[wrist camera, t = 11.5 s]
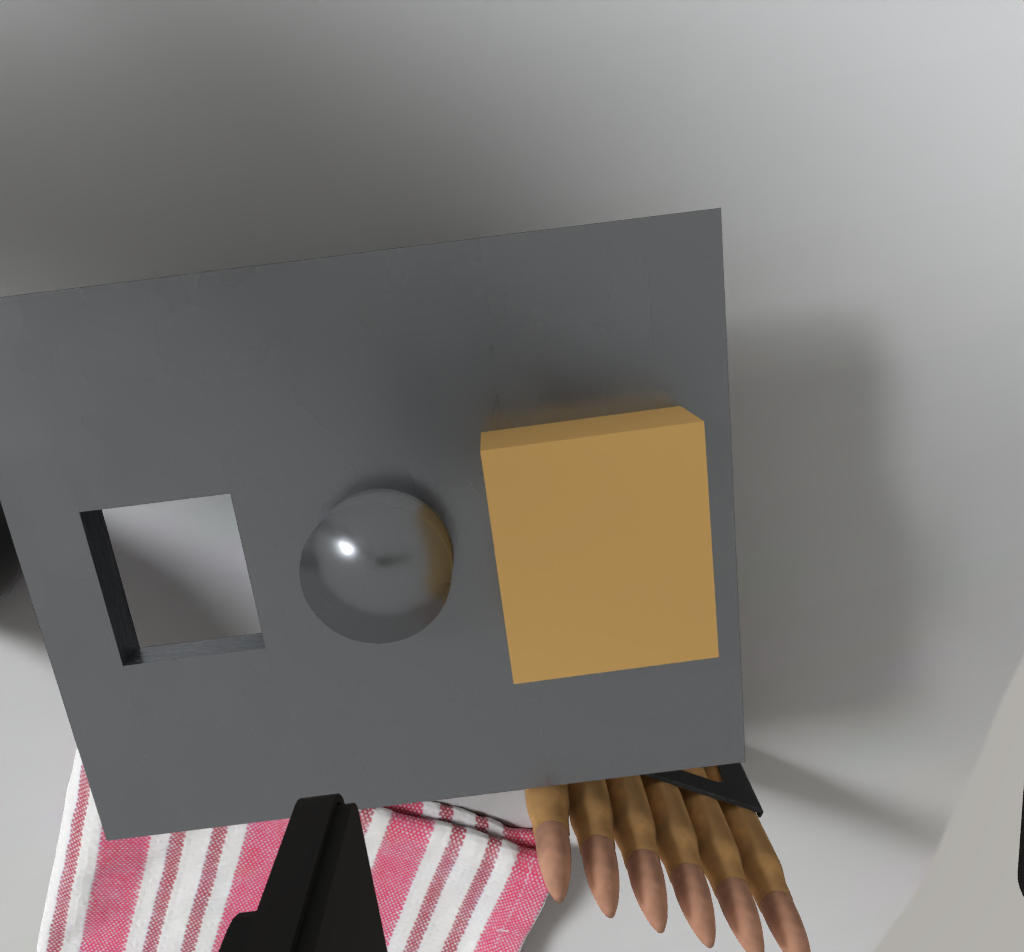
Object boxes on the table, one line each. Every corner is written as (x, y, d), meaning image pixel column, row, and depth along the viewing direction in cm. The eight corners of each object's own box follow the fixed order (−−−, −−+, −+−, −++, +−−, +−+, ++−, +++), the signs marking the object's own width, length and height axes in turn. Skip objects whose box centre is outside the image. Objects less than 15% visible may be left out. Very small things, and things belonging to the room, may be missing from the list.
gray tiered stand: (101, 297, 29) (-103, 307, 19) (652, 228, 29) (738, 202, 19) (204, 697, 34) (83, 874, 24) (679, 638, 34) (760, 790, 24)
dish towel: (468, 1072, 41) (466, 1143, 38) (38, 988, 39) (-5, 1056, 35) (561, 821, 37) (569, 875, 34) (88, 710, 35) (44, 756, 31)
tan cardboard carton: (482, 400, 28) (480, 451, 20) (640, 379, 28) (704, 421, 20) (506, 572, 30) (513, 684, 22) (655, 552, 30) (718, 657, 22)
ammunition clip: (509, 703, 35) (520, 915, 23) (523, 669, 34) (542, 869, 23) (714, 771, 36) (821, 1004, 24) (730, 740, 36) (848, 962, 24)
